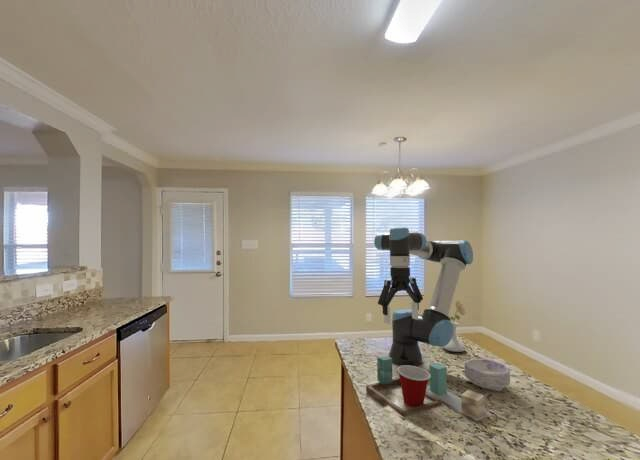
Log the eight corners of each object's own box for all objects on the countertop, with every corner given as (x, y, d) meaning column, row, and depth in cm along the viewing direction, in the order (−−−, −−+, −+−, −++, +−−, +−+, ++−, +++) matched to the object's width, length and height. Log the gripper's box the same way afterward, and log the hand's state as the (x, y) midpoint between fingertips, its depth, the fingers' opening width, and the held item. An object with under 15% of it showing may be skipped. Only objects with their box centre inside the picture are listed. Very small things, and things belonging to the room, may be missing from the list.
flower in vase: (454, 355, 146) (453, 304, 147) (436, 347, 156) (435, 299, 158) (473, 351, 151) (472, 301, 152) (455, 344, 162) (454, 298, 163)
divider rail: (422, 395, 108) (422, 390, 108) (423, 394, 108) (423, 390, 108) (477, 429, 88) (477, 423, 88) (479, 428, 89) (479, 423, 89)
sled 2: (426, 394, 108) (426, 365, 108) (440, 390, 111) (440, 362, 111) (477, 424, 90) (476, 390, 90) (492, 418, 93) (491, 385, 93)
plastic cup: (436, 417, 94) (435, 378, 95) (401, 416, 95) (401, 377, 95) (425, 399, 105) (425, 364, 106) (394, 398, 106) (394, 363, 106)
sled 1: (364, 389, 112) (363, 359, 112) (398, 380, 119) (397, 352, 119) (403, 420, 92) (403, 383, 93) (442, 407, 99) (441, 373, 100)
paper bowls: (457, 384, 116) (457, 363, 116) (476, 374, 125) (475, 355, 126) (500, 401, 104) (499, 377, 104) (517, 388, 113) (516, 366, 113)
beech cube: (461, 410, 95) (461, 394, 95) (468, 405, 98) (468, 389, 99) (478, 417, 91) (477, 401, 92) (484, 411, 95) (484, 395, 95)
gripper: (379, 269, 109) (380, 328, 108) (431, 265, 119) (432, 319, 118) (367, 267, 116) (369, 322, 115) (417, 264, 126) (419, 314, 125)
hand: (401, 321), depth 117 cm, fingers open, 13 cm apart
